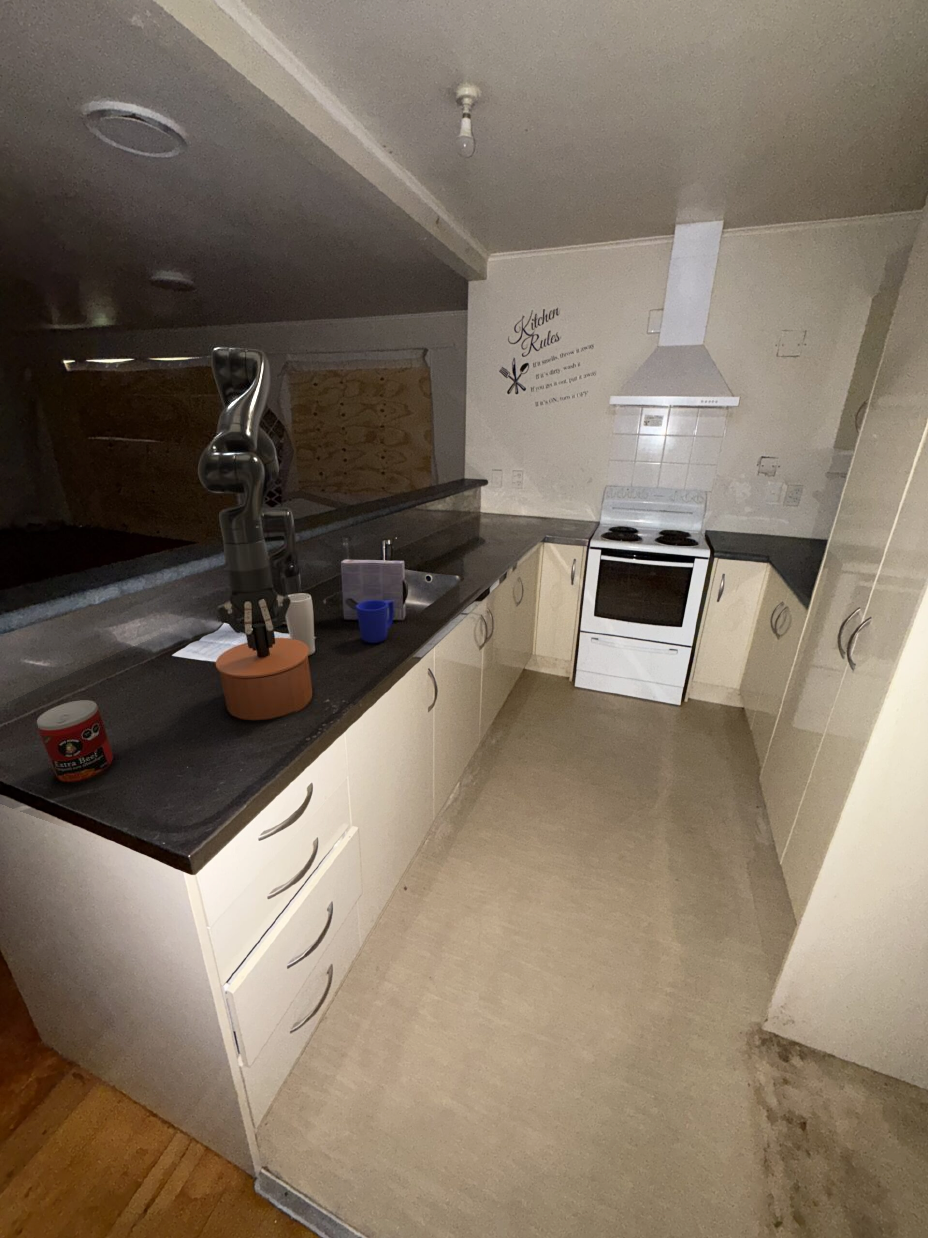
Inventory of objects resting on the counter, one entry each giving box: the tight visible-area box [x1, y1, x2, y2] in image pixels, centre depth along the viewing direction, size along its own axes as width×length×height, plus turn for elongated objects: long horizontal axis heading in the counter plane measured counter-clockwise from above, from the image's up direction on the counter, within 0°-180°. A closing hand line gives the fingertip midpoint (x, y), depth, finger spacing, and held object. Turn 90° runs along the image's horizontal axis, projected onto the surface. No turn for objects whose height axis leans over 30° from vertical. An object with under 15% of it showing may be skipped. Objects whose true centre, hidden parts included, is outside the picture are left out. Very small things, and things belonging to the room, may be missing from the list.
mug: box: [356, 600, 394, 644], centre depth 131 cm, size 8×12×10 cm
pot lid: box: [215, 622, 310, 678], centre depth 97 cm, size 18×18×8 cm
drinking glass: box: [285, 592, 316, 657], centre depth 120 cm, size 7×7×15 cm
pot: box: [219, 656, 313, 721], centre depth 100 cm, size 17×17×10 cm
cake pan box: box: [340, 559, 409, 621], centre depth 143 cm, size 19×5×18 cm, turn 89°
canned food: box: [36, 699, 114, 783], centre depth 79 cm, size 8×8×11 cm
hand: (262, 647), depth 97 cm, fingers closed on pot lid, 2 cm apart
